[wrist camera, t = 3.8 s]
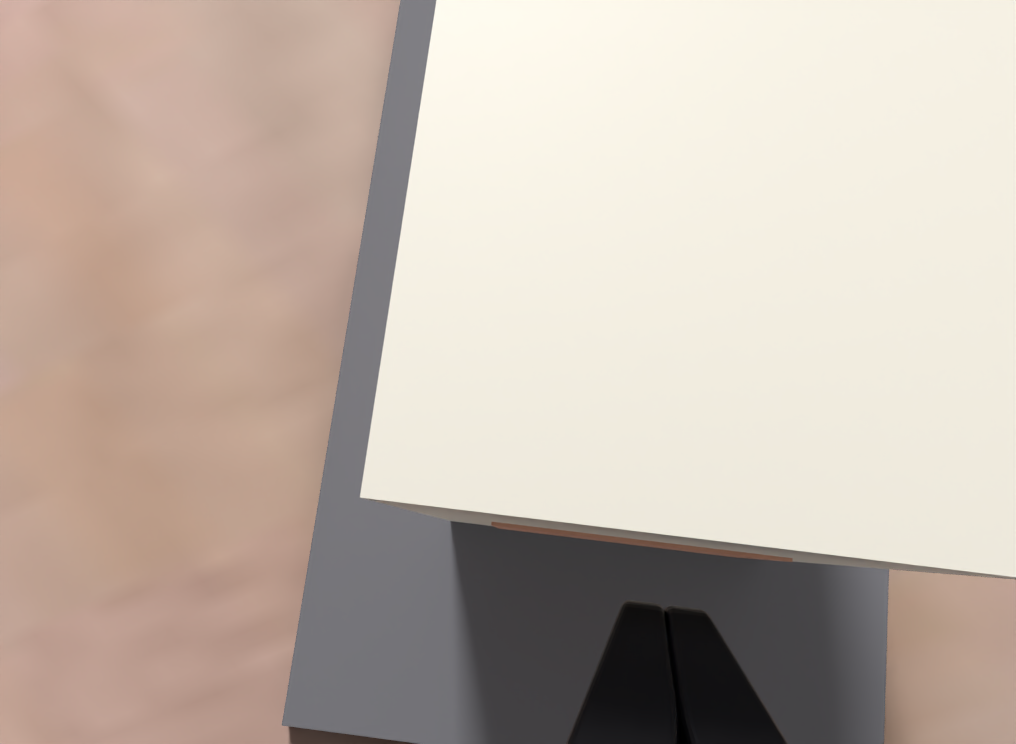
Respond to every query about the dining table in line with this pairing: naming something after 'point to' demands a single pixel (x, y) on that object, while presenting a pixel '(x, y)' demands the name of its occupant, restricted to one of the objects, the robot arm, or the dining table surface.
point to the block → (712, 280)
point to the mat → (528, 569)
